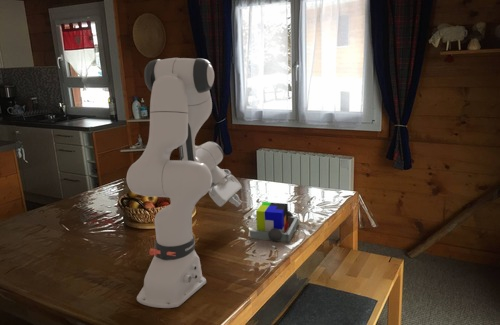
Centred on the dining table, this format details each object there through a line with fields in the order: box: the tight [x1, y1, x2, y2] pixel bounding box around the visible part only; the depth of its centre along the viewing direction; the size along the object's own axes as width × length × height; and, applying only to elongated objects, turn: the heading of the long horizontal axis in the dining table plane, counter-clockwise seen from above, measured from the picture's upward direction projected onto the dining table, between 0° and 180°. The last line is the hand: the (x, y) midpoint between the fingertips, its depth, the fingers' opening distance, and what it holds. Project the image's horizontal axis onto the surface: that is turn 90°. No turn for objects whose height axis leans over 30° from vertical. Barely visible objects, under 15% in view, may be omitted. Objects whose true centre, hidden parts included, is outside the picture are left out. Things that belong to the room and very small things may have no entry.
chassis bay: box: [249, 210, 300, 243], centre depth 167 cm, size 19×15×5 cm
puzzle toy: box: [255, 201, 289, 233], centre depth 167 cm, size 10×10×10 cm
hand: (240, 204), depth 170 cm, fingers closed
